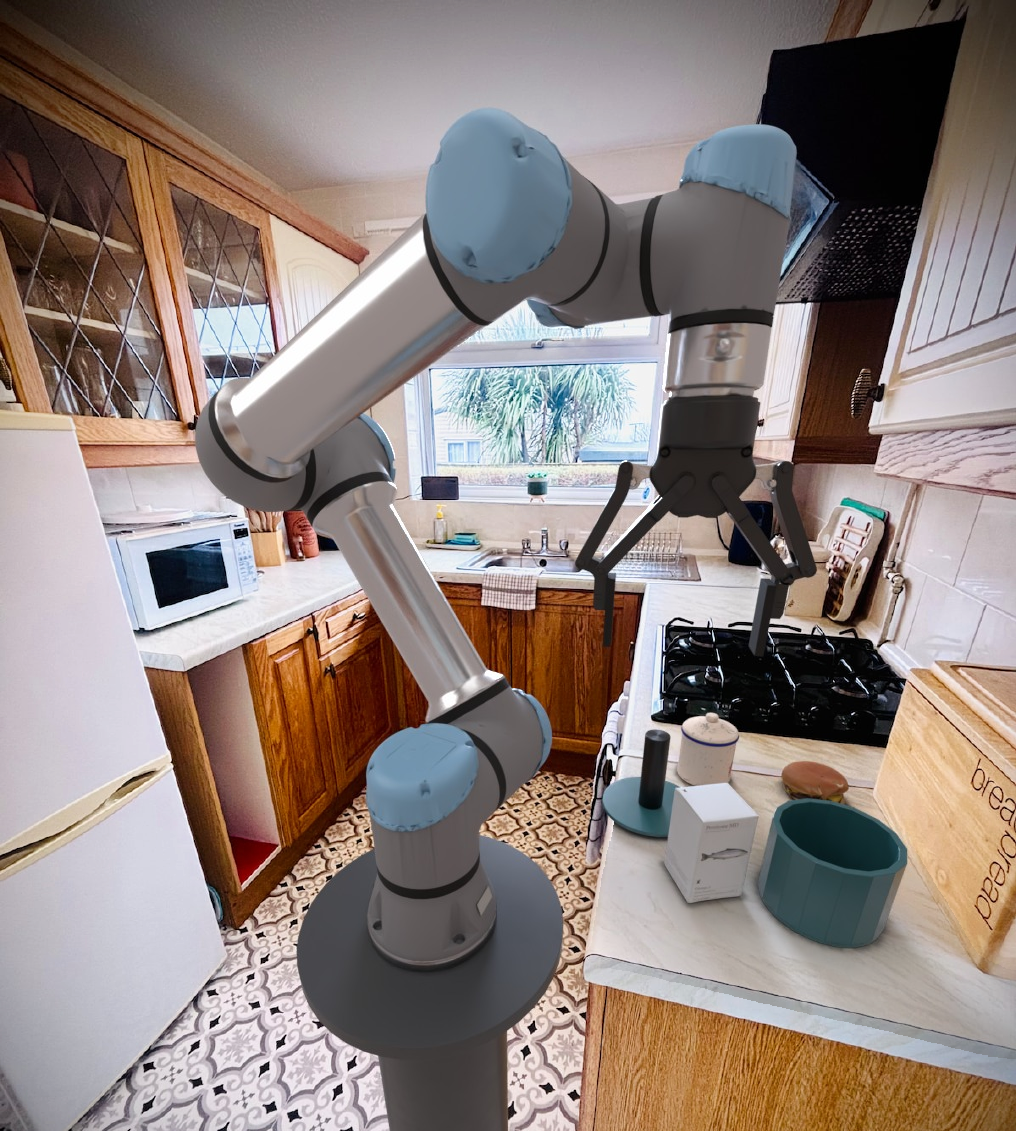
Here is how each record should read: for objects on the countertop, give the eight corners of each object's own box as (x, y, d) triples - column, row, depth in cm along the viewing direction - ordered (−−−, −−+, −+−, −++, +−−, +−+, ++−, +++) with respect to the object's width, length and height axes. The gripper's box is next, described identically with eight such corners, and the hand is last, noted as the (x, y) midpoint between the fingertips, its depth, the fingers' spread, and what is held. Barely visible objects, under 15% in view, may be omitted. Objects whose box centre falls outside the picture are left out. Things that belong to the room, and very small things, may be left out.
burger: (789, 771, 94) (795, 748, 92) (850, 792, 89) (857, 768, 87) (770, 797, 88) (776, 772, 86) (835, 822, 82) (842, 796, 80)
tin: (771, 936, 63) (789, 865, 59) (748, 856, 75) (762, 793, 71) (903, 957, 60) (931, 884, 56) (857, 870, 72) (877, 805, 68)
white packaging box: (687, 905, 67) (701, 822, 62) (662, 863, 74) (673, 785, 69) (743, 898, 68) (760, 815, 63) (713, 857, 75) (727, 780, 70)
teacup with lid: (741, 788, 90) (752, 726, 85) (687, 791, 89) (696, 729, 84) (710, 751, 101) (719, 694, 96) (662, 753, 100) (669, 696, 95)
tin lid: (599, 833, 80) (605, 755, 75) (604, 778, 93) (609, 709, 88) (703, 846, 77) (717, 766, 72) (693, 787, 90) (704, 717, 85)
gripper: (549, 396, 42) (543, 651, 51) (907, 387, 38) (836, 670, 46) (560, 402, 49) (554, 627, 57) (865, 396, 44) (810, 641, 53)
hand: (679, 647), depth 52 cm, fingers open, 13 cm apart
